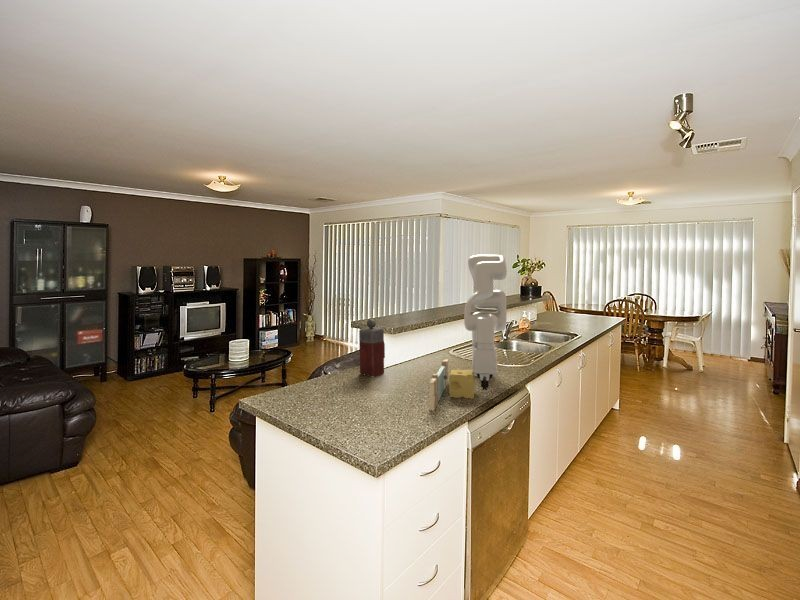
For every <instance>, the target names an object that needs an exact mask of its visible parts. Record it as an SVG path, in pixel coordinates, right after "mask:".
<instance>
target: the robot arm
mask: <svg viewBox="0 0 800 600" xmlns="http://www.w3.org/2000/svg"><path fill="white" fill-rule="evenodd" d="M467 265H468V270H469V272H470V273H469V274H470V275H471V277H472V281H473V283H472V284H473V294H472V295H471V296H470V297H469V298H468V299H467V301H466V302H465V305H464V319H463V320H464V322H463V325H464V328H465V330H467V331H469V332H471V339H472V340H471V345H472V346H471V363H472V364H471V370H472V374H474V375H475V377H478V378H479V380H480V387H481V388H482V390H483V391H484V390H485V391H487V390H488V389H487V388H489V380H490V379H492V378H493V377H497V376H499V373H498V354H497V350H496V349H495V332H503V331H505V329H506V327H507V295H506V293H505V291H504V290H501V289H494V280H495V281H497V280H498V281H499V280H500V281H502V280H505V279H506V278H507V273H508V270H507V269H508V267H507V262H506V259H505V256H504V255H503V254H502V255H501V254H476V255H471V256H470V257H468V260H467ZM473 307H475V308H476V309H478V310H479V309H480V310H496V311H475V312H473V313H471V311H472V308H473Z"/></svg>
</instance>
